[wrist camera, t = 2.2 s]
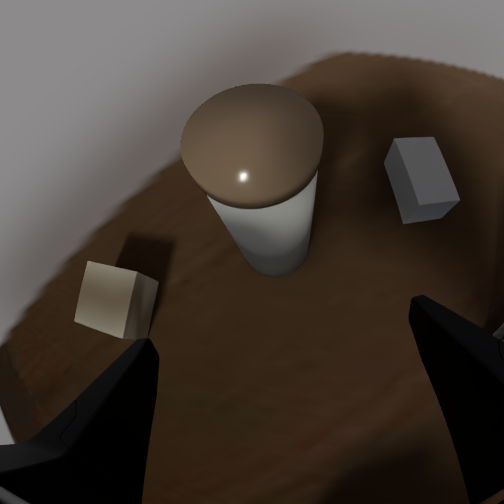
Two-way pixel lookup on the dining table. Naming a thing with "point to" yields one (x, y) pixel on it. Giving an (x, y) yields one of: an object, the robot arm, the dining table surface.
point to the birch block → (116, 301)
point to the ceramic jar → (259, 170)
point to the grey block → (420, 179)
